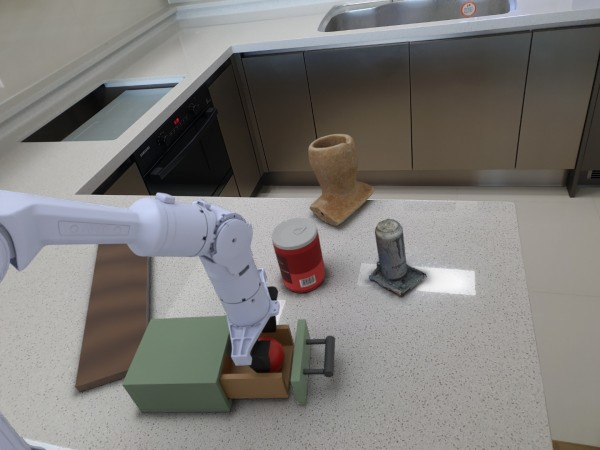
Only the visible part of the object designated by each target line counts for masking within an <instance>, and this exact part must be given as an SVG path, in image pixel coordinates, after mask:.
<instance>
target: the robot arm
mask: <svg viewBox="0 0 600 450" xmlns="http://www.w3.org/2000/svg"><path fill="white" fill-rule="evenodd" d="M253 229H254V228H253V224H252V223H249V222H247V220H246V218H244V217H243V215H241V214H239V213H237V212H235V211H232V210H230V209H227V208H225V207H223V206H221V205H218V204H217V203H216V204H215V203H213V202H211V201H210V202H209V201H206V200H205V199H203V198H200V199H197V200H194V201H192V202H186V201H177V200H176V197H174V196H173V195H171V194H168V193H164V192H156V194H155V198H154V197H141V198H139V199H137V200H136V201H134V202H133V203H132V204H131V205H130V206H129V207H122V206H121V207H120V206H115V205H108V204H100V203H94V202H87V201H80V200H74V199H67V198H61V197H55V196H47V195H41V194H34V193H26V192H22V191H21V192H20V191H12V190H5V189H0V284H1V283H2V282H3V280H4V278H5V277H6V275H7V274H8V270H9V267H10V265H11V266H12V267H13V268H14V269H15V270H16V271H18V272H19V273H20V272H22V271H24V270H25V269H26V268H28V266H29V265H30V264H31V263H32V262H33V260H34V259H35V258H36V257H37V255H38V254H39V253H40V252H41V251H42V250H43V248H44V247H46V246H63V245H65V246H67V245H68V246H69V245H71V246H72V245H73V246H74V245H76V246H77V245H98V244H127V245H128V246H129V248H130V249H131V250H132V251H133V252H134V253H135V254H136V255H138V256H148V257H150V258H152V257H154V258H155V257H156V258H157V257H159V258H196V257H198V258H199V260H200V262H201V264H202V266H203V268H204V270H205V273H206V275H207V277H208V279H209V281H210V283H211V285H212V287H213V289H214V292H215V293H216V295H217V298H218V300H219V301H220V304H221V306H222V308H223V310H224V312H225V314H226V316H227V321H228V327H229V332H230V338H231V340H229V341H228V345H227V349H226V353H227V355H228V357H229V358H230V359H232V360H233V361H234V363H235V365H236V366H239V365H240V366H242V365H248V366H249V367H250V368H252V369H253V370H254V371H255V372H256V373H266V372H270V369H271V362H270V358H269V349H270V342H271V340H260V341H258V339H257V338H258V337H259V335H260V333H261V332H262V333H270V332H276V327H277V325H278V324H277V316H278V315H279V313H280V309H281V304H280V302H279V300H278V296H279V290H278V287H276V286H274V285H272V286H271V285H269V286H268V285H267V280H268V275H267V272H266V269H265V268H264V267H259V268H258V267H257V265H256V263H255V259H254V257H253V256H254V253H253V251H252V241H253V234H254V231H253ZM0 450H47V449H46V448H44V447H43V446H38V445H32V444H30V443H29V442H27V441H26V440H25V438H24V437H23V436H21V435H20V434H19V433H18V432H17V430H16V429H15V428H14V427H13V426H12V424H11V423H10V422H9V421H8V419H7V418H6V417H5V415H4V414H3V413H2V412H1V411H0Z"/></svg>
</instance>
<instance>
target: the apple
mask: <svg viewBox="0 0 600 450" xmlns="http://www.w3.org/2000/svg"><path fill="white" fill-rule="evenodd" d="M260 340H271V342H270V349H269V358H270V362H271V369H270V372H266V373H280V371H281V370H282V365H283V363H284V359H285V352H284V349H283V347H282V345H281V344H280V342H278V341H277V340H276V339H274V338H270V337H264V338H260V339H258V341H260Z"/></svg>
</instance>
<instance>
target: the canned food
mask: <svg viewBox="0 0 600 450" xmlns="http://www.w3.org/2000/svg"><path fill="white" fill-rule="evenodd" d="M271 242H272V246H273V250H274V253H275V257H276V260H277V264H278V267H279V268H278V269H279V271H280V276H281V278H282V282H283V284H284V285H285V288H287V289H288V290H289V291H291V292H294V293H299V294H301V293H308V292H312V291H313V290H315V289H317V288H318V287H320V286H321V284H322V283H323V282H324V280H325V276H326V269H325V268H326V267H325V263H324V258H323V257H324V256H323V252H322V245H321V240H320V235H319V232H318V226H317V225H316V223H315V222H314V221H313V220H312V219H309V218H305V217H294V218H293V217H292V218H289V219H287V220H284V221H282V222H280V223H279V224H278V225H277V226H276V227H275V228H274V229H273V230H272V232H271Z"/></svg>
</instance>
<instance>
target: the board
mask: <svg viewBox="0 0 600 450" xmlns="http://www.w3.org/2000/svg"><path fill="white" fill-rule="evenodd" d="M150 265H151V257H148V256H138V255H136V254H135V253H134V252H133V251H132V250H131V249H130V248H129V246H128V245H127V244H97V250H96V256H95V263H94V269H93V275H92V280H91V281H92V282H91V287H90V293H89V300H88V305H87V311H86V318H85V324H84V329H83V335H82V342H81V349H80V355H79V360H78V367H77V373H76V379H75V385H74V388H75V389H76V390H77V391H78V392H79V393H82V392H84V391H88V390H91V389H94V388H96V387H99V386H103V385H107V384H109V383H112V382H115V381H118V380H121V379H122V380H123V379H125V377H126V374H127V372H128V370H129V367H130V365H131V363H132V361H133V358H134V356H135V354H136V352H137V349H138V347H139V345H140V343H141V340H142V338H143V336H144V333H145V331H146V329H147V327H148V324H149V322H150V276H151V275H150V271H151V270H150V269H151V268H150Z"/></svg>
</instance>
